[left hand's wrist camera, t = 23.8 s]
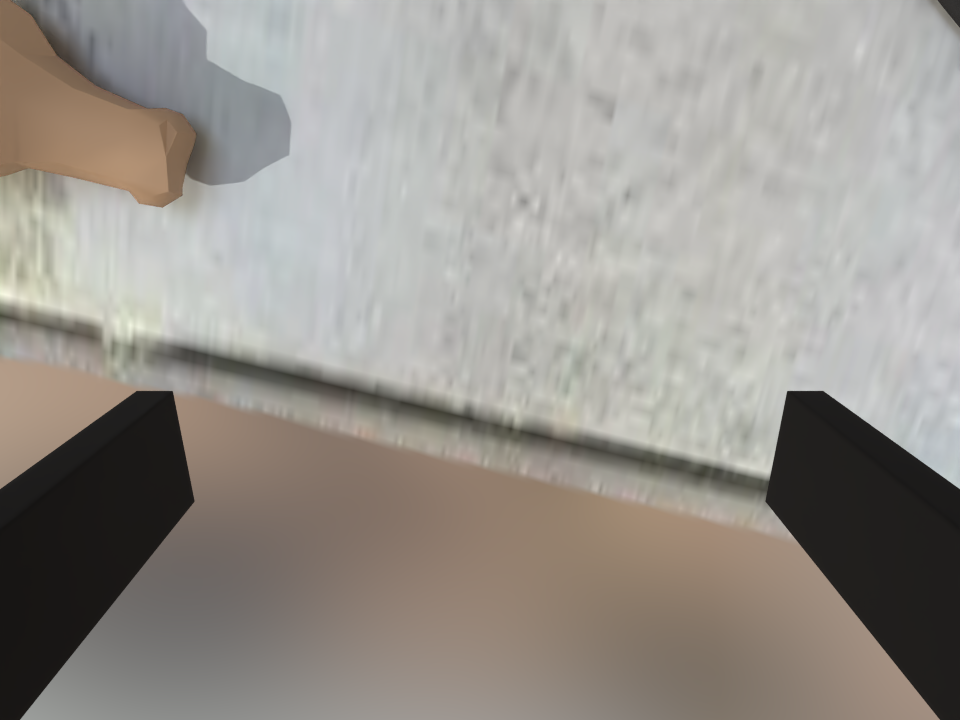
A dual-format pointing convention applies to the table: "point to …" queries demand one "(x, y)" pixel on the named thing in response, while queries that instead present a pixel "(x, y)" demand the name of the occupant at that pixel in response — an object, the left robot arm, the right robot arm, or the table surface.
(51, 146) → the squash
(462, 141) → the table surface
